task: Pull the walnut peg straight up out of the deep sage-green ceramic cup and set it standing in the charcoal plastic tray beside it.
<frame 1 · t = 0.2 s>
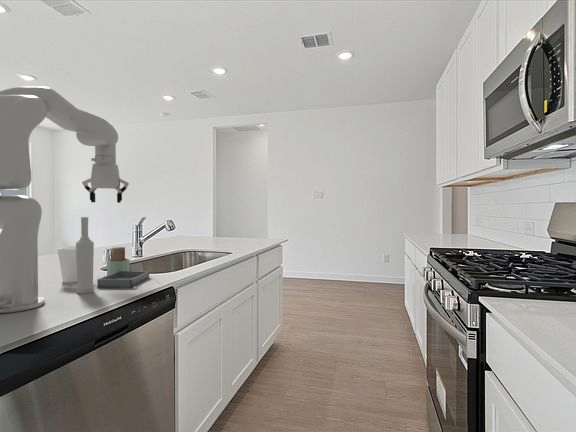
hand: (106, 202, 140), 30 cm above the worktop, fingers open, 9 cm apart
tray: (124, 283, 126), on the worktop
walnut peg: (118, 274, 139), resting on deep cup
deep cup: (118, 275, 139), on the worktop
bottle: (85, 292, 113), on the worktop
foam cup: (73, 282, 127), on the worktop
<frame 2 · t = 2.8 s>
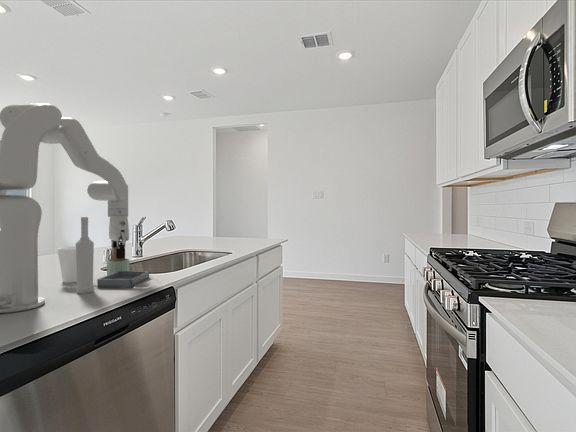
hand: (118, 256, 139), 8 cm above the worktop, fingers closed on walnut peg, 5 cm apart
walnut peg: (118, 274, 139), point 1 cm above the worktop, touching deep cup, gripper
everything else where it was.
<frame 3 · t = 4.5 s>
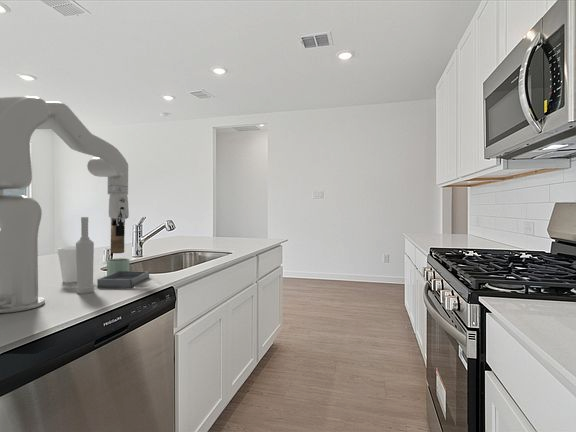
hand: (117, 234, 138), 17 cm above the worktop, fingers closed on walnut peg, 5 cm apart
walnut peg: (117, 252, 138), point 10 cm above the worktop, touching gripper
everything else where it was.
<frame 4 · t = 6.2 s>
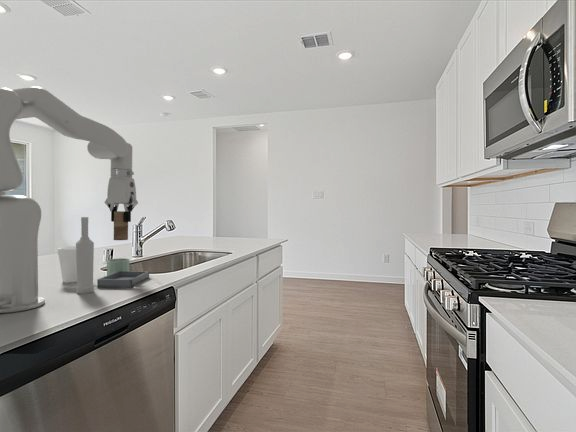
hand: (120, 221, 131), 23 cm above the worktop, fingers closed on walnut peg, 5 cm apart
walnut peg: (120, 239, 131), point 16 cm above the worktop, touching gripper
everything else where it was.
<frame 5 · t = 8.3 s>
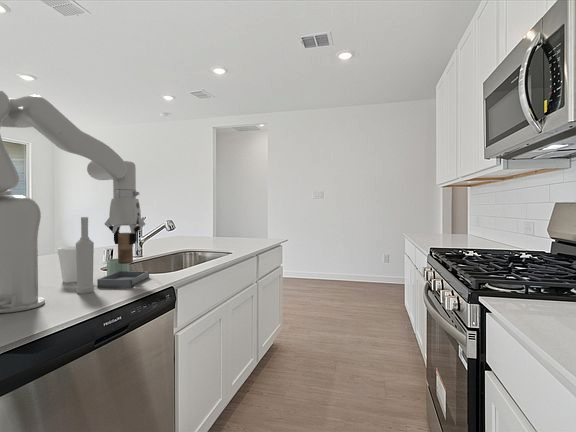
hand: (125, 243, 126), 15 cm above the worktop, fingers closed on walnut peg, 5 cm apart
walnut peg: (125, 262, 126), point 8 cm above the worktop, touching gripper
everything else where it was.
when the fingers open (10 cm above the worktop, at t = 10.1 s): walnut peg drops 1 cm, resting on tray.
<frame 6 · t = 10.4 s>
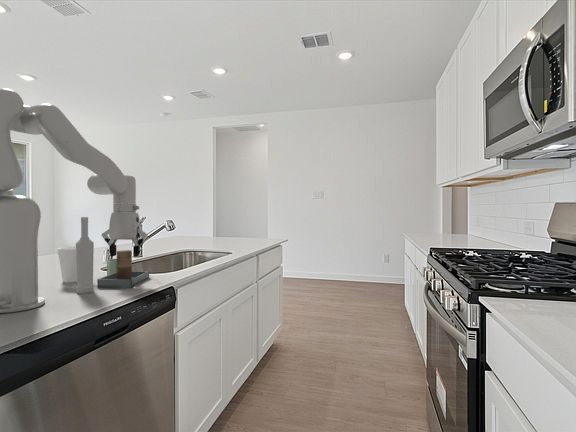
hand: (124, 255, 126), 10 cm above the worktop, fingers open, 8 cm apart
walnut peg: (124, 280, 126), point 1 cm above the worktop, touching tray
everything else where it was.
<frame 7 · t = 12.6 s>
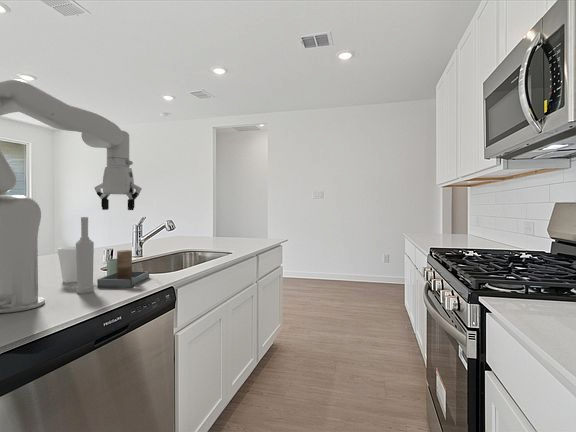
hand: (118, 209, 126), 27 cm above the worktop, fingers open, 9 cm apart
nothing on the worktop moved.
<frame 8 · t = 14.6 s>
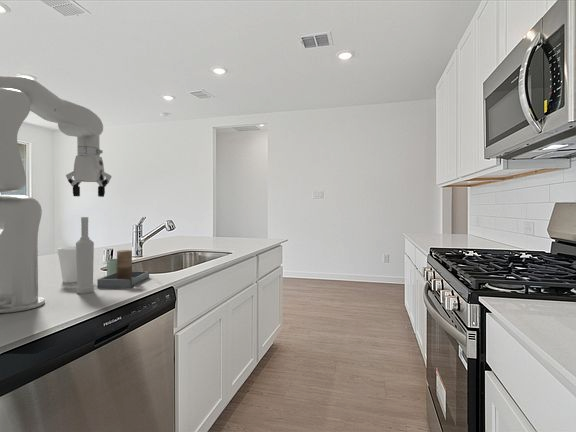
hand: (88, 196, 133), 32 cm above the worktop, fingers open, 9 cm apart
nothing on the worktop moved.
at the end: walnut peg inside the target area on the tray (0.1 cm from its centre), point 1.0 cm above the tray's base; walnut peg tilted 1°; the gripper is holding nothing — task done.
